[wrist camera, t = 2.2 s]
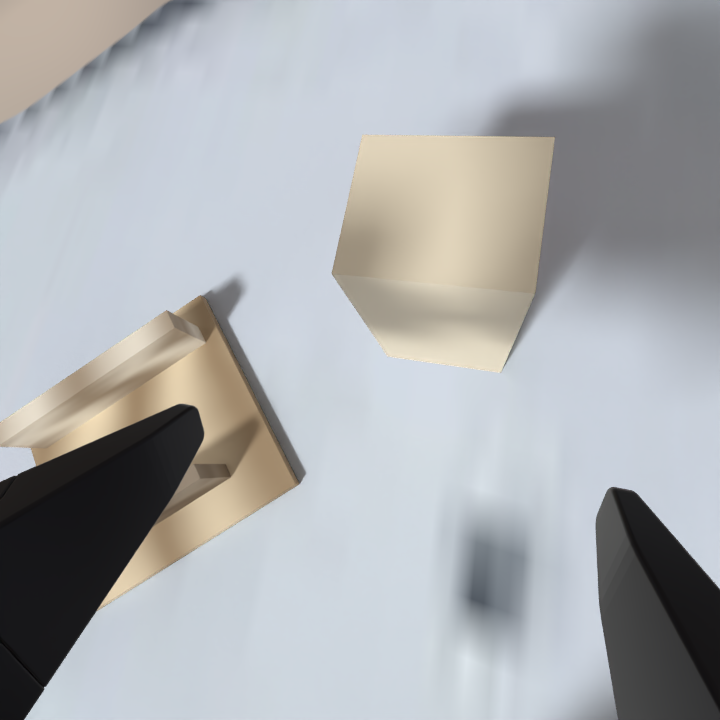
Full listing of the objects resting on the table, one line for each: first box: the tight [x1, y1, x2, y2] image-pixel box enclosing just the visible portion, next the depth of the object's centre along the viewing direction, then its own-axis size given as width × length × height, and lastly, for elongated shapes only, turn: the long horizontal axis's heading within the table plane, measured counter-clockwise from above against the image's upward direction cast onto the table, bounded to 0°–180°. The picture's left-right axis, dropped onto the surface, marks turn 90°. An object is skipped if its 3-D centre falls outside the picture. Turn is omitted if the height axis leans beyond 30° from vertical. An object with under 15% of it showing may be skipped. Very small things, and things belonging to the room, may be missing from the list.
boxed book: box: [332, 135, 555, 373], centre depth 19 cm, size 6×5×11 cm
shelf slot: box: [0, 295, 299, 611], centre depth 24 cm, size 14×13×4 cm
